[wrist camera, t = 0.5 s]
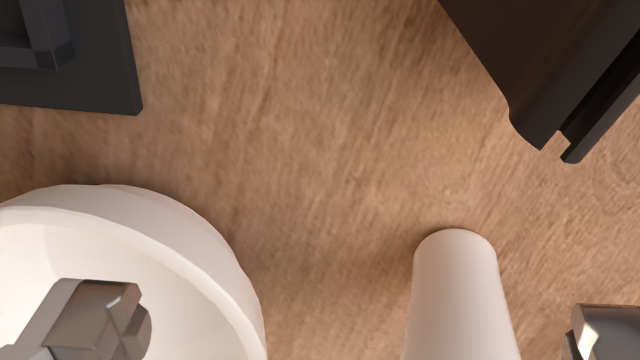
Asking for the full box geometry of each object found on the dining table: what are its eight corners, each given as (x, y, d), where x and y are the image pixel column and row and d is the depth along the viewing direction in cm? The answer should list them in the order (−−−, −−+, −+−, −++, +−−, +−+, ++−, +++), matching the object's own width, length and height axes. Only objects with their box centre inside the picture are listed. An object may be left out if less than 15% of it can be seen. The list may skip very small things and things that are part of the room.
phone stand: (434, -8, 29) (434, 100, 19) (503, -130, 26) (546, -74, 16) (587, 71, 30) (661, 210, 20) (674, -37, 27) (812, 68, 17)
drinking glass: (382, 259, 40) (359, 473, 27) (447, 196, 36) (454, 412, 24) (460, 307, 41) (472, 532, 29) (531, 251, 37) (579, 481, 25)
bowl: (320, 364, 47) (301, 463, 40) (75, 360, 52) (21, 448, 45) (253, 115, 35) (210, 197, 28) (-57, 144, 40) (-157, 218, 33)
